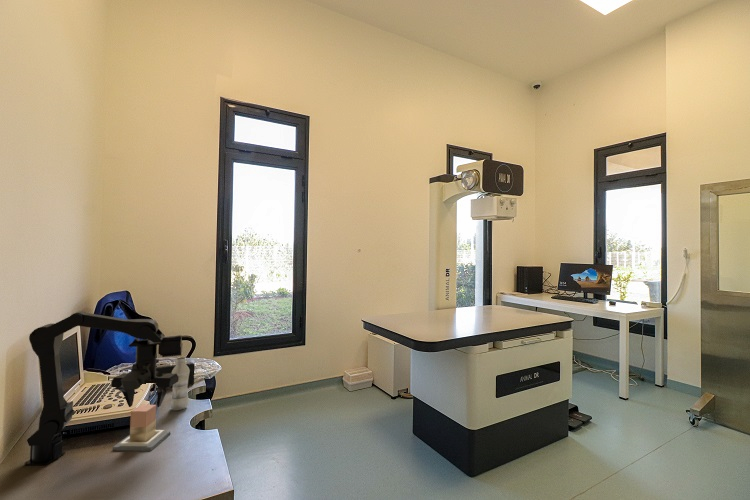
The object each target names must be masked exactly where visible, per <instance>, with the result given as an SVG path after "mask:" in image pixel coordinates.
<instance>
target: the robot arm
mask: <svg viewBox="0 0 750 500" xmlns="http://www.w3.org/2000/svg"><path fill="white" fill-rule="evenodd" d="M76 327H84V328H91V329H99V330H105V331H112V332H118V333H123V334H126V335H128V336H130V337H132V338H134V339H133V341H131V342H130V343H129V344H128V348H132V347H133V348H134V347H136V348H135V350H136V351H135V362H134V363H133V364H132V366H131V370H130V371H129V372H125V373H120V374H118V375H116V376H114V377H112V379H111V381H110V388H114V389H115V390H118V391H120V392H121V393H122V395H123V396H124V399H125V401H126V404H127V406H128V407H129V408H131V407H133V404H134V398H135V392H136V390H138V389H139V388H141V385H142V384H146V383H156V385H157V386H158V388H156V390H155V391H156V392H157V397H156V408H159V407H161V405H162V403H163V401H164V399H165V396H166V395H167V394H168V391H169V390H170V389H171V388H170V386H172V385H174V384H175V383H177V382H178V375H177V374H165V375H163V376H161V377H156V376H157V375H158V372H156V367H157V364H158V363H159V362H160V359H158V358H157V351H158V355H159V356H160V357H162V358H168V357H179V356H180V357H182V355H183V339H182V338H183V337H182V335H181V334H177V335H173V336H169V335H168V336H165V334H164V333H163V332H162V330H160V328H159V324H158V322H157V321H156V320H155V319H151V318H135V319H131V318H129V319H126V318H119V317H114V316H108V315H101V314H97V313H90V312H86V311H78V312H74V313H72V314H71V315H69V316H68V317H65V318H64V319H62V320H60V321H57V322H55V323H47V324H45V325H42V326H40V327H37V328H35V329H34V330H33V331H32V332H30V334H29V337H28V339H29V340H28V341H29V343H30V347H31V349H32V351H33V352H34V354H35V355H36V356H37V358H38V363H39V371H40V372H39V373H40V383H41V392H42V393H41V394H42V402H43V403H42V404H43V406H42V410H41V412H40V414H39V415H40V416H39V420H38V421H39V422H38V427H37V428H38V429H36V430H35V432H34V433H32V434H31V435H30V436H29V437H28V438H27V439H26V442H27V443H28V444H27V445H28V446H29V447H30V450H29V452H30V453H29V460H27V461H25V462H24V466H47V465H49V464H50V463H52V462H53V461H56V459H58V458H60V457H61V456H63V455H64V454H66V451H65V450H63V440H62V439H63V438H62V437H63V435H62V434H60V432H62V431H63V430H64V428H65V427H66V426H67V425H68V424H69V423H70V421H71V420H72V418H73V416H74V415H75V414H76V413H75V411H74V401H73V400H72V401H69V402H68V401H67V400H66V399H65V396H64V387H63V376H62V367H61V357H60V351H61V348H62V345H63V342H64V333H67V332H68V331H70V330H72V329H75V328H76Z"/></svg>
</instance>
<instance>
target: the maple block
mask: <svg viewBox="0 0 750 500" xmlns="http://www.w3.org/2000/svg"><path fill="white" fill-rule="evenodd" d="M156 422H157V420H155V421H154V422H152V423H151V424H150V425H148V426H147V427H130V426H129V427H130V428H129V435H130V442H147V441H149V440H150V439H151V438H152V437H153V436H155V430H157V428H156V425H157V423H156Z"/></svg>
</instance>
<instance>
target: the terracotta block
mask: <svg viewBox="0 0 750 500" xmlns="http://www.w3.org/2000/svg"><path fill="white" fill-rule="evenodd" d="M156 419H157V404H140V405H138V406H137V407H135V408H133V409H132V410H130V420H129V421H130V422H129V427H147V426H148V425H150V424H151V423H152V422H154V421H155V420H156ZM156 421H157V420H156Z"/></svg>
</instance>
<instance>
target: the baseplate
mask: <svg viewBox="0 0 750 500" xmlns="http://www.w3.org/2000/svg"><path fill="white" fill-rule="evenodd" d="M170 435H171V431H168V430H167V431H165V430H164V429H155V436H153V437H152V438H151V439H150V440H149V441H147V442H130V434H129V435H127V436H126V437H125V438H123V439H121V440H120V441H119V442H117V444H115V445H114V446H112V451H141V452H142V451H149V452H150V451H153V450H154V449H155V448H157V446H158V445H160V444H161V443H162V442H164V441H165V439H167V438H168V437H169V436H170Z"/></svg>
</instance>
